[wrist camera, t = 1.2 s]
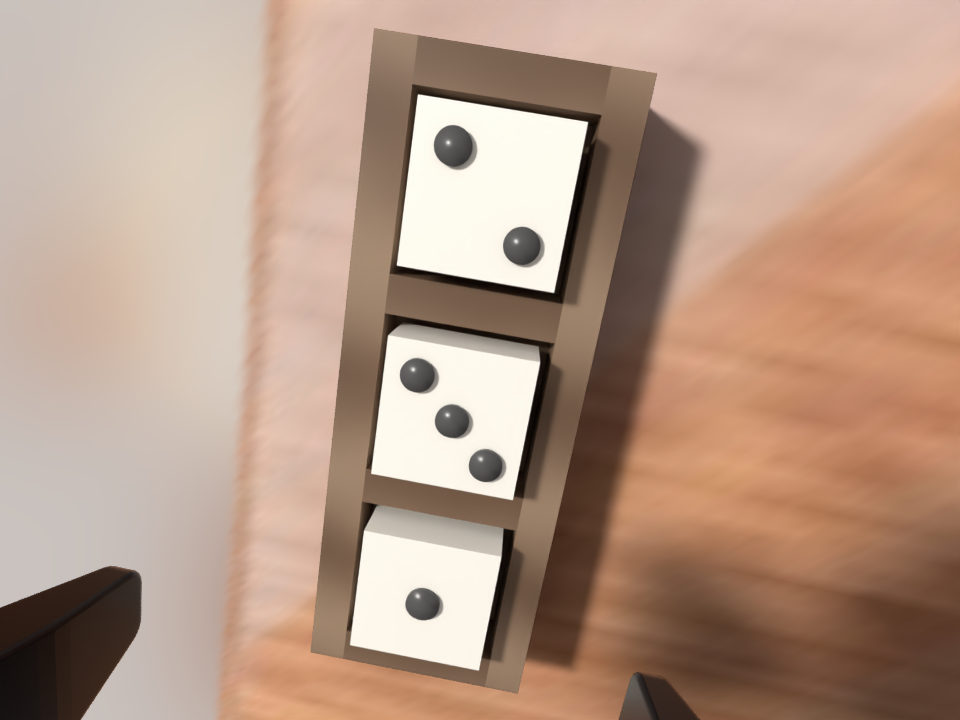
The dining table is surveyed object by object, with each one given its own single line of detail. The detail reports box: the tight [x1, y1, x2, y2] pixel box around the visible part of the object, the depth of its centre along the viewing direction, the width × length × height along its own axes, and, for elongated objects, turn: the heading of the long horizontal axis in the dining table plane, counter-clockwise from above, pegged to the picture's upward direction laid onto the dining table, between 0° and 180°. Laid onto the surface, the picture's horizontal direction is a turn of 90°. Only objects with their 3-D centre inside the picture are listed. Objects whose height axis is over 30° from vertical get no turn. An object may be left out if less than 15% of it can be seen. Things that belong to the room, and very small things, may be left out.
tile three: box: [371, 322, 540, 500], centre depth 17 cm, size 4×4×2 cm
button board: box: [311, 28, 657, 694], centre depth 19 cm, size 20×8×3 cm, turn 171°
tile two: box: [397, 94, 588, 293], centre depth 16 cm, size 4×4×2 cm
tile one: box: [350, 505, 503, 671], centre depth 19 cm, size 4×4×2 cm
